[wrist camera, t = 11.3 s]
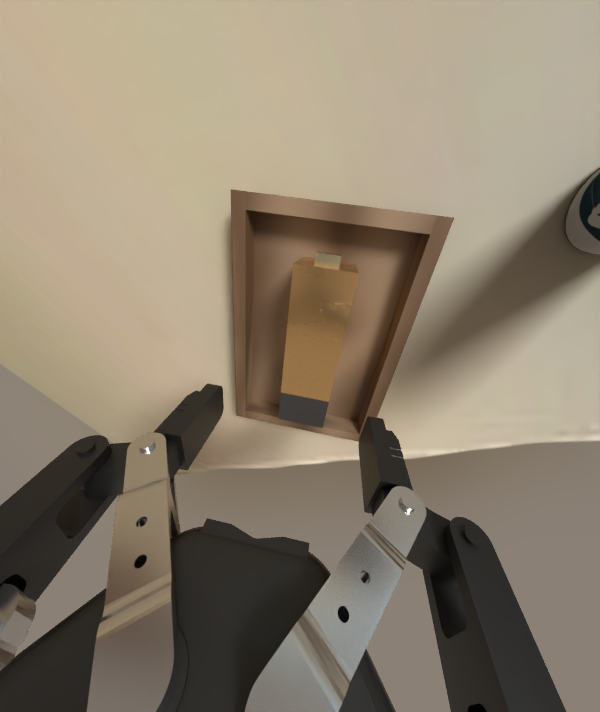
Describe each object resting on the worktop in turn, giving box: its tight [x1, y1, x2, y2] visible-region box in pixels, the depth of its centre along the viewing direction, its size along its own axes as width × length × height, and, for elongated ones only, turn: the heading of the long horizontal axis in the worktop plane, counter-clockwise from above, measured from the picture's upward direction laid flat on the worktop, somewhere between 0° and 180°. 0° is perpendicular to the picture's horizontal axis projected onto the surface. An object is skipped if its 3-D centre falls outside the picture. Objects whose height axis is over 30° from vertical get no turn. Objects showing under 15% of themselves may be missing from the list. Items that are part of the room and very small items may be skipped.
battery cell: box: [278, 251, 359, 428], centre depth 19 cm, size 4×14×4 cm, turn 173°
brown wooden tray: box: [231, 190, 454, 442], centre depth 20 cm, size 14×20×2 cm
